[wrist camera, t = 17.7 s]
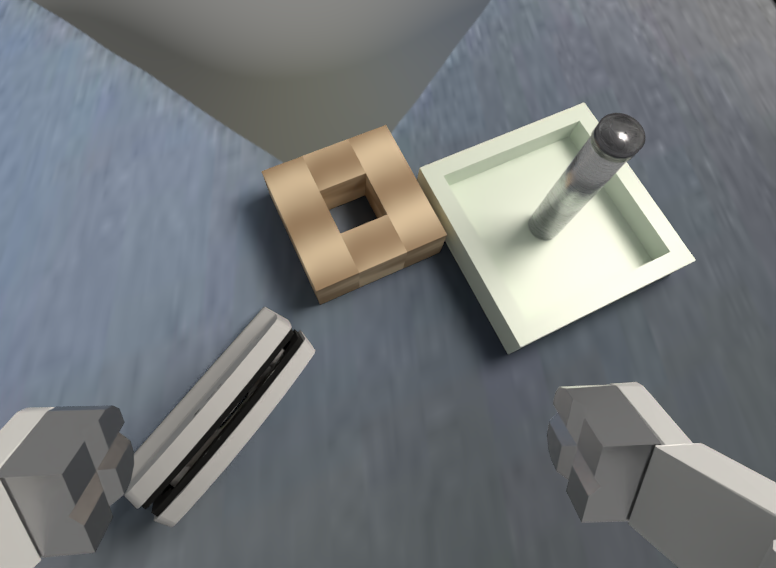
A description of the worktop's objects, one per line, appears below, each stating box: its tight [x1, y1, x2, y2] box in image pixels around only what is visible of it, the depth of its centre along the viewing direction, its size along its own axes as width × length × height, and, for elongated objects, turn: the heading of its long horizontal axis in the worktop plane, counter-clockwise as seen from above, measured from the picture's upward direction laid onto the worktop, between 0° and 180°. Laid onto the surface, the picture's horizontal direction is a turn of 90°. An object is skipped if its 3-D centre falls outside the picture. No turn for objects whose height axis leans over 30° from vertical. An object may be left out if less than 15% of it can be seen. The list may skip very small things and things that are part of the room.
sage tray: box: [417, 103, 695, 354], centre depth 44 cm, size 18×18×4 cm
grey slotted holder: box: [125, 307, 315, 527], centre depth 35 cm, size 17×5×10 cm, turn 143°
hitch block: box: [262, 125, 447, 305], centre depth 43 cm, size 12×12×4 cm
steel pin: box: [528, 113, 645, 240], centre depth 38 cm, size 3×3×14 cm
